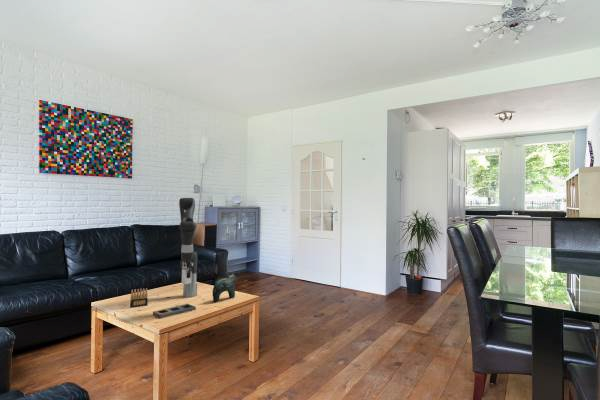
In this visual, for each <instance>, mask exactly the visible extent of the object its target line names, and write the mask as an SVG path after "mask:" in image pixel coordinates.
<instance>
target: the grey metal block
mask: <svg viewBox="0 0 600 400" xmlns="http://www.w3.org/2000/svg"><path fill="white" fill-rule="evenodd" d="M188 270H189V269H188ZM191 276H192V272H191ZM189 283H191V277H190V278H187V269H182V270H181V284H182V285H183V284H189Z"/></svg>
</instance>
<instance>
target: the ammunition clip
mask: <svg viewBox="0 0 600 400" xmlns="http://www.w3.org/2000/svg"><path fill="white" fill-rule="evenodd" d="M130 292H131V293H130V303H129V307H130V308H133V309H134V308H140V307H146V306H147V307H148V306H149V305H148V304H149V303H148V288H147V287H146V288H143V289H142V288H140V289H139V288H137V289H136V288H134V290H133V289H131V291H130Z"/></svg>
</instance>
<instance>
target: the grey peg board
mask: <svg viewBox="0 0 600 400" xmlns="http://www.w3.org/2000/svg"><path fill="white" fill-rule="evenodd" d="M196 309H197V306H195V305H192V304H190V303H185V304H181V305H175V306H171V307H168V308H163V309H158V310H155V311H152V316H155V317H156V318H159V319H165V318H168V317H169V318H170V317H172V316H177V315H180V314H183V313H184V314H185V313H189V312H193V311H196ZM192 310H193V311H192Z"/></svg>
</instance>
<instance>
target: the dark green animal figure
mask: <svg viewBox="0 0 600 400" xmlns="http://www.w3.org/2000/svg"><path fill="white" fill-rule="evenodd" d="M227 273H228V274H227ZM224 274H225V275H226V276H227V277H222V278H221V277H219V278H217V279H216V280H215V283H214V285H213V288H212V301H213V303H219V302H220V296H221V295H222V293H224V292H227V293H228V298H229V297H230V298H229V299H231V298H232V299H234V298H233V297H235V296H236V283H237V276H236V275H235V274H234V273H231V274H230V272H228V271H226V272H225V273H224ZM235 298H236V297H235ZM218 301H219V302H218Z"/></svg>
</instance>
